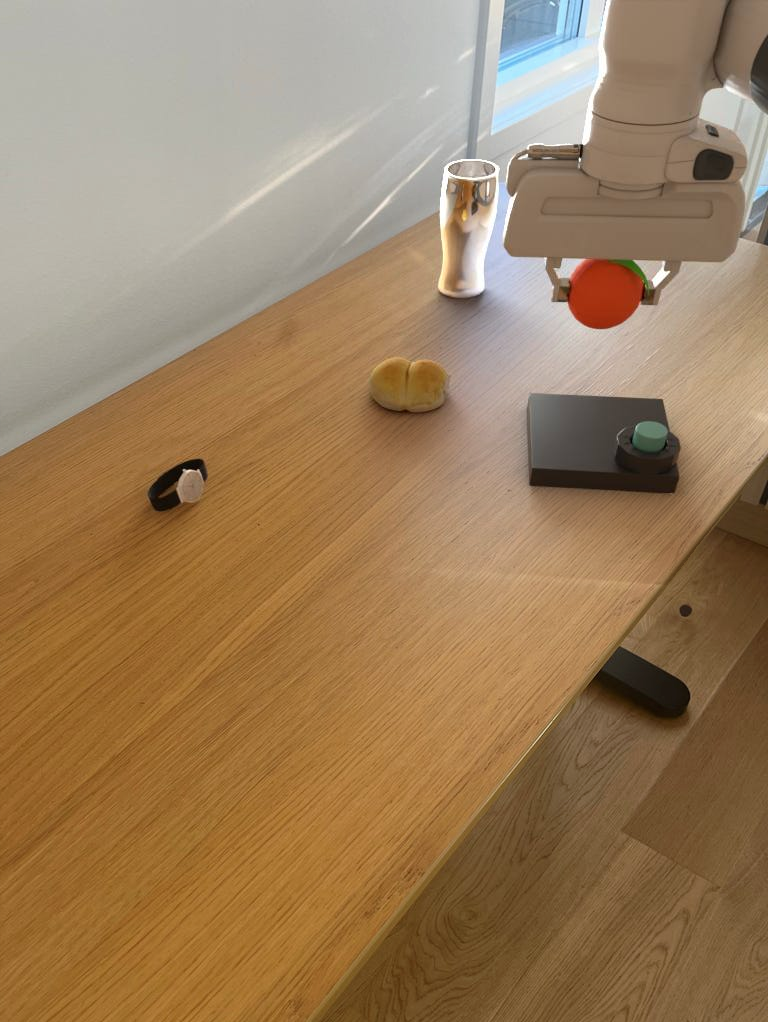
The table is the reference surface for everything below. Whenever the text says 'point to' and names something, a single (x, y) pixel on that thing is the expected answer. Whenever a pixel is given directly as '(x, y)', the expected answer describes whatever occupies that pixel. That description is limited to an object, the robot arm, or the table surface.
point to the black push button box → (597, 444)
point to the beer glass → (466, 225)
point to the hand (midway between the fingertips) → (603, 301)
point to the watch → (179, 485)
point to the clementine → (605, 292)
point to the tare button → (650, 436)
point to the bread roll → (409, 384)
